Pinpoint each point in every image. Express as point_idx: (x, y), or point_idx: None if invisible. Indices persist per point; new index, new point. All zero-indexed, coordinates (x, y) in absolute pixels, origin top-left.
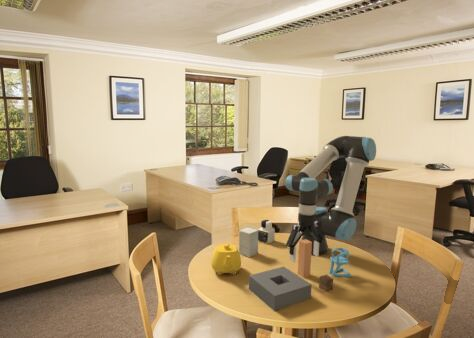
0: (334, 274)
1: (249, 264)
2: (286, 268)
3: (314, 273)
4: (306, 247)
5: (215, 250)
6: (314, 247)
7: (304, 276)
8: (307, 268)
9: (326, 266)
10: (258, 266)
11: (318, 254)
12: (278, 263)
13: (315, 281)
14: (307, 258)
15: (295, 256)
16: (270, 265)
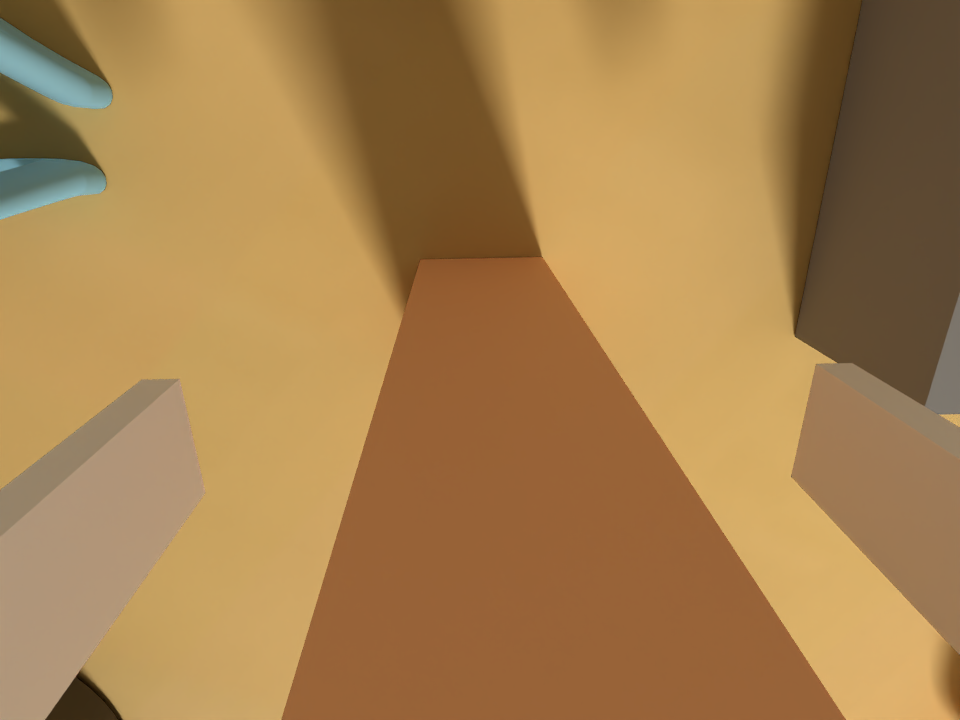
0: (62, 64)
1: None
2: (953, 334)
3: (325, 278)
4: (636, 542)
5: None
6: (104, 597)
7: (522, 259)
8: (478, 288)
9: (35, 363)
10: None
11: (121, 398)
12: None
13: (467, 76)
14: (503, 354)
15: (911, 425)
16: None
